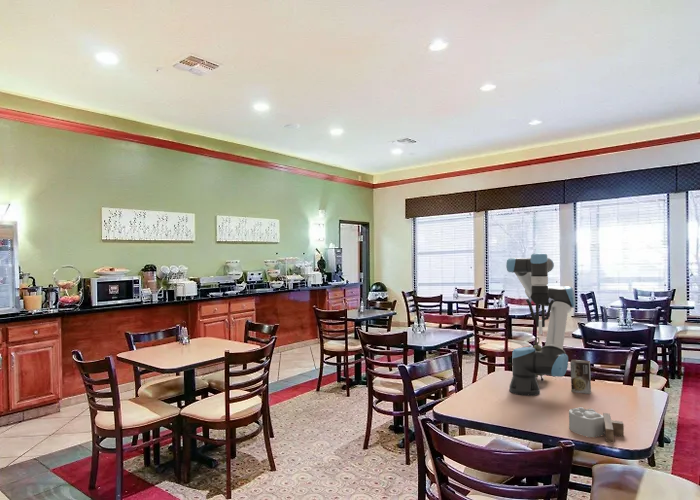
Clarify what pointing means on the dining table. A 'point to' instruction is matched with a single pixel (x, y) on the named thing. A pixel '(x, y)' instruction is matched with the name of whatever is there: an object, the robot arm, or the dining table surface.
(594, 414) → the lumpy-topped squat cylinder
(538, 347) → the tabletop clock
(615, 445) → the dining table surface
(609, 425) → the t stop
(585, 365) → the coffee box
